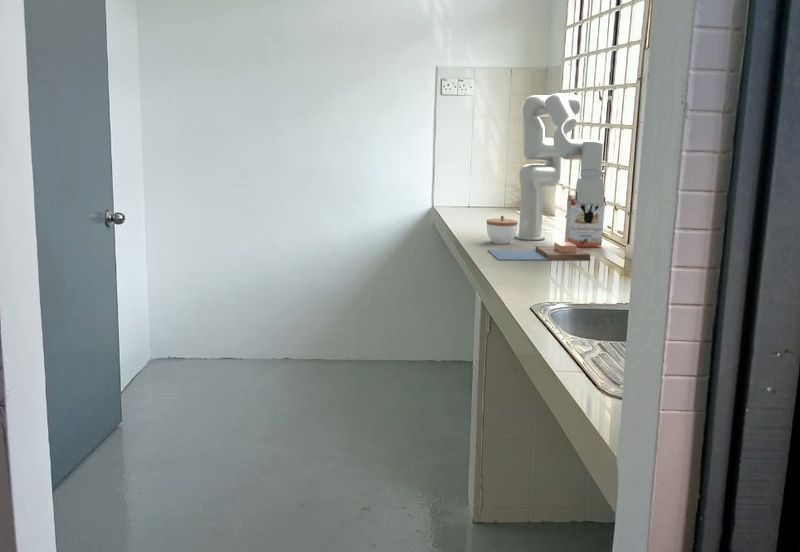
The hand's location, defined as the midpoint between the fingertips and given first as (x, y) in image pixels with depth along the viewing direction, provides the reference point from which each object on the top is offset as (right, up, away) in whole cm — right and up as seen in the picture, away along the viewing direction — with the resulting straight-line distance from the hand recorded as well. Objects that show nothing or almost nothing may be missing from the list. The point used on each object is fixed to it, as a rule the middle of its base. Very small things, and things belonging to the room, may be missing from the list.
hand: (588, 222), depth 302 cm
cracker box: (+4, -8, +24) cm, 26 cm away
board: (-9, -12, +2) cm, 16 cm away
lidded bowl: (-29, -6, +30) cm, 42 cm away
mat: (-27, -12, +1) cm, 29 cm away
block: (-8, -9, +2) cm, 12 cm away
